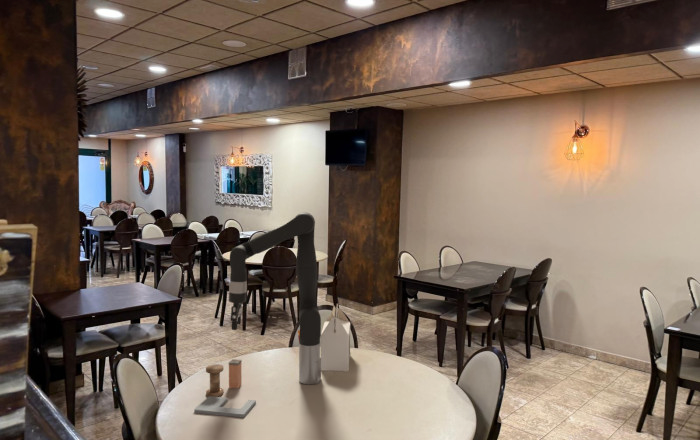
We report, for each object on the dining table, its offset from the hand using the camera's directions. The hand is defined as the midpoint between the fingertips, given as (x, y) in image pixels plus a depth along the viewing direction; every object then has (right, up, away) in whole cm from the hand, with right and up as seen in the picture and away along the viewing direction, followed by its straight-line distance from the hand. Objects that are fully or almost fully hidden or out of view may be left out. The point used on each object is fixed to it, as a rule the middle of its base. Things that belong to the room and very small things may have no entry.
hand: (236, 326), depth 207 cm
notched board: (+2, -26, -25) cm, 36 cm away
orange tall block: (+1, -25, -5) cm, 25 cm away
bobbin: (-6, -25, -13) cm, 29 cm away
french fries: (+27, -22, +39) cm, 53 cm away
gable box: (+44, -24, +24) cm, 55 cm away
